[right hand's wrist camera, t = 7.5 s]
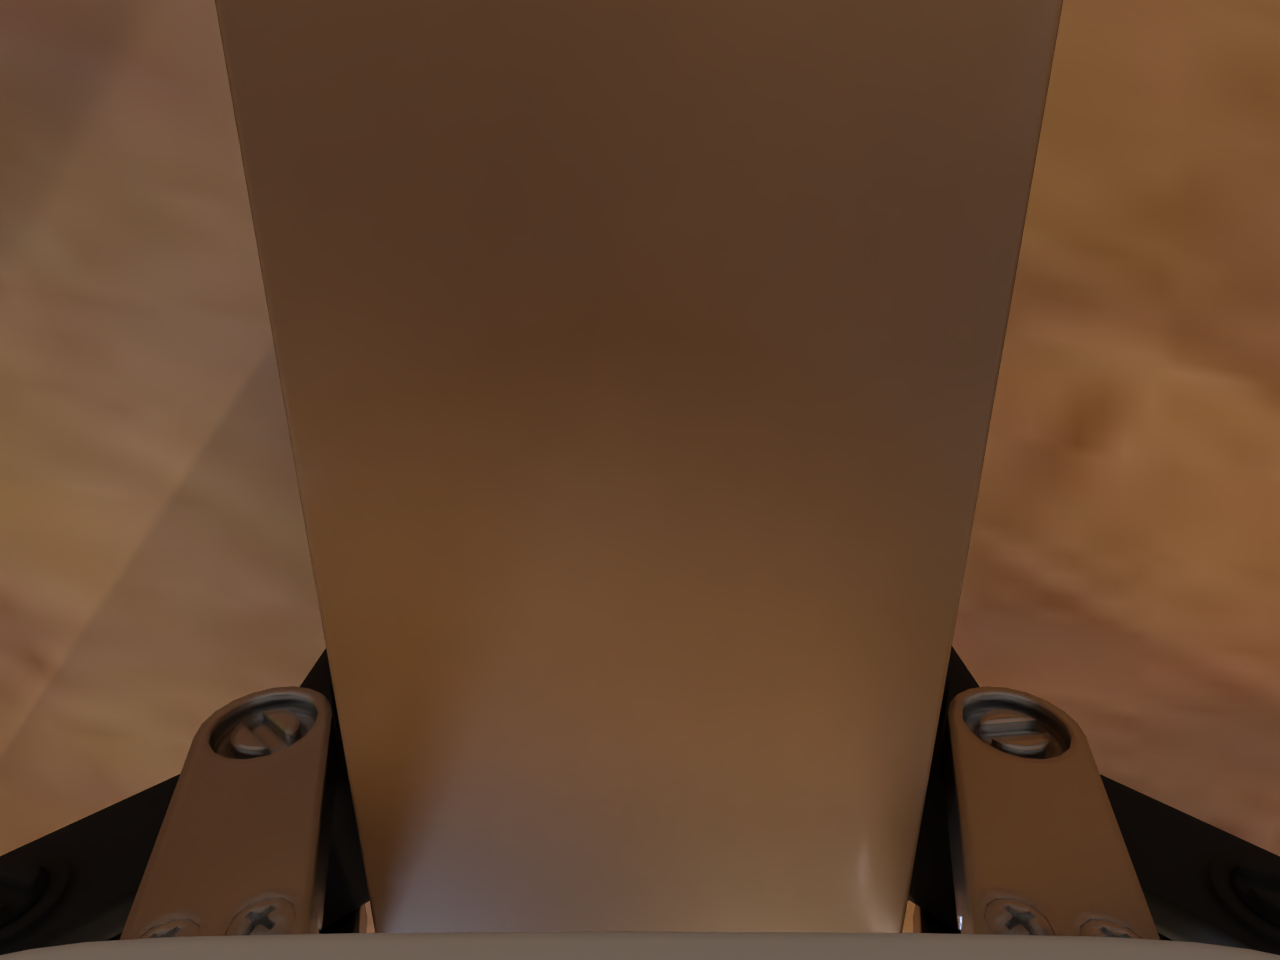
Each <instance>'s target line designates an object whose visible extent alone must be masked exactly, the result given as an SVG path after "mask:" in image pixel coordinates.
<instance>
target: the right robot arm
mask: <svg viewBox="0 0 1280 960" xmlns="http://www.w3.org/2000/svg"><path fill="white" fill-rule="evenodd" d="M369 900H370V898H369V893H368V887H367V881H366V875H365V869H364V864H363V858H362V852H361V846H360V840H359V835H358V829H357V823H356V817H355V811H354V806H353V800H352V794H351V788H350V782H349V777H348V771H347V765H346V759H345V753H344V747H343V742H342V736H341V730H340V724H339V718H338V713H337V707H336V701H335V695H334V689H333V684H332V678H331V672H330V666H329V660H328V655H327V649H325V650H324V652H323V653H322V655H321V656H320V658H319V659H318V661H317V662H316V664H315V665H314V667H313V668H312V670H311V671H310V673H309V674H308V675H307V677H306V678H305V680H304V681H303V683H302V684H301V686H300V687H293V686H292V687H279V688H271V689H267V690H263V691H258V692H254V693H251V694H249V695H246V696H244V697H241V698H239V699H236V700H234V701H232V702H230V703H229V704H227V705H225V706H224V707H222V708H220V709H219V710H217V711H216V712H214V713H213V714H212V715H211V716H210V717H209V718H208V719H207V720H206V721H205V722H203V723H202V725H201V726H200V728H199V730H198V731H197V733H196V734H195V736H194V738H193V741H192V744H191V747H190V749H189V752H188V755H187V758H186V760H185V763H184V766H183V768H182V771H181V774H179V775H177V776H175V777H173V778H170V779H168V780H166V781H164V782H162V783H160V784H157V785H155V786H153V787H151V788H149V789H146V790H144V791H142V792H140V793H138V794H136V795H133V796H131V797H129V798H127V799H125V800H122V801H120V802H118V803H116V804H114V805H111V806H109V807H107V808H105V809H103V810H101V811H98V812H96V813H94V814H92V815H90V816H87V817H85V818H83V819H81V820H79V821H77V822H74V823H72V824H70V825H68V826H66V827H63V828H61V829H59V830H57V831H55V832H53V833H50V834H48V835H46V836H44V837H42V838H39V839H37V840H35V841H33V842H31V843H29V844H26V845H24V846H22V847H20V848H18V849H15V850H13V851H11V852H9V853H7V854H5V855H2V856H0V960H1280V857H1279V856H1277V855H1275V854H1273V853H1271V852H1268V851H1266V850H1264V849H1262V848H1260V847H1258V846H1255V845H1253V844H1251V843H1249V842H1247V841H1244V840H1242V839H1240V838H1238V837H1236V836H1234V835H1231V834H1229V833H1227V832H1225V831H1223V830H1220V829H1218V828H1216V827H1214V826H1212V825H1210V824H1207V823H1205V822H1203V821H1201V820H1199V819H1196V818H1194V817H1192V816H1190V815H1188V814H1185V813H1183V812H1181V811H1179V810H1177V809H1175V808H1172V807H1170V806H1168V805H1166V804H1164V803H1161V802H1159V801H1157V800H1155V799H1153V798H1151V797H1148V796H1146V795H1144V794H1142V793H1140V792H1137V791H1135V790H1133V789H1131V788H1129V787H1126V786H1124V785H1122V784H1120V783H1118V782H1116V781H1113V780H1111V779H1109V778H1107V777H1105V776H1102V775H1100V774H1099V771H1098V768H1097V766H1096V763H1095V760H1094V758H1093V755H1092V752H1091V749H1090V747H1089V744H1088V741H1087V738H1086V736H1085V734H1084V733H1083V731H1082V730H1081V728H1080V726H1079V725H1078V723H1077V722H1075V721H1074V720H1073V719H1072V718H1071V717H1070V716H1069V715H1068V714H1067V713H1066V712H1064V711H1063V710H1061V709H1060V708H1058V707H1056V706H1055V705H1053V704H1051V703H1050V702H1048V701H1046V700H1044V699H1041V698H1039V697H1036V696H1034V695H1031V694H1029V693H1026V692H1022V691H1017V690H1013V689H1009V688H1001V687H988V686H987V687H979V685H978V684H977V682H976V681H975V679H974V678H973V677H972V675H971V674H970V672H969V671H968V669H967V668H966V666H965V665H964V663H963V662H962V660H961V659H960V657H959V656H958V654H957V653H956V651H955V650H954V648H953V647H952V646H951V652H950V658H949V663H948V669H947V675H946V681H945V686H944V692H943V698H942V704H941V710H940V715H939V721H938V727H937V733H936V739H935V744H934V750H933V756H932V762H931V767H930V773H929V779H928V785H927V791H926V796H925V802H924V808H923V814H922V820H921V825H920V831H919V837H918V843H917V848H916V854H915V860H914V866H913V872H912V877H911V883H910V889H909V895H908V900H910V901H911V902H913V903H914V904H915V909H914V915H913V929H914V933H826V932H454V933H366V929H367V915H366V909H365V903H366V902H368V901H369Z"/></svg>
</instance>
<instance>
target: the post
mask: <svg viewBox="0 0 1280 960" xmlns="http://www.w3.org/2000/svg"><path fill="white" fill-rule="evenodd" d="M215 4H216V10H217V16H218V21H219V27H220V33H221V39H222V45H223V50H224V56H225V62H226V68H227V74H228V79H229V85H230V91H231V97H232V103H233V108H234V114H235V120H236V126H237V132H238V138H239V143H240V149H241V155H242V161H243V167H244V172H245V178H246V184H247V190H248V196H249V201H250V207H251V213H252V219H253V225H254V230H255V236H256V242H257V248H258V254H259V260H260V265H261V271H262V277H263V283H264V289H265V294H266V300H267V306H268V312H269V318H270V323H271V329H272V335H273V341H274V347H275V352H276V358H277V364H278V370H279V376H280V381H281V387H282V393H283V399H284V405H285V411H286V416H287V422H288V428H289V434H290V440H291V445H292V451H293V457H294V463H295V469H296V474H297V480H298V486H299V492H300V498H301V503H302V509H303V515H304V521H305V527H306V533H307V538H308V544H309V550H310V556H311V562H312V567H313V573H314V579H315V585H316V591H317V596H318V602H319V608H320V614H321V620H322V625H323V631H324V637H325V643H326V649H327V655H328V660H329V666H330V672H331V678H332V684H333V689H334V695H335V701H336V707H337V713H338V718H339V724H340V730H341V736H342V742H343V747H344V753H345V759H346V765H347V771H348V777H349V782H350V788H351V794H352V800H353V806H354V811H355V817H356V823H357V829H358V835H359V840H360V846H361V852H362V858H363V864H364V869H365V875H366V881H367V887H368V893H369V898H370V904H371V910H372V916H373V922H374V928H375V933H454V932H826V933H902V929H903V924H904V918H905V912H906V906H907V901H908V895H909V889H910V883H911V877H912V872H913V866H914V860H915V854H916V848H917V843H918V837H919V831H920V825H921V820H922V814H923V808H924V802H925V796H926V791H927V785H928V779H929V773H930V767H931V762H932V756H933V750H934V744H935V739H936V733H937V727H938V721H939V715H940V710H941V704H942V698H943V692H944V686H945V681H946V675H947V669H948V663H949V658H950V652H951V646H952V640H953V634H954V629H955V623H956V617H957V611H958V605H959V600H960V594H961V588H962V582H963V576H964V571H965V565H966V559H967V553H968V548H969V542H970V536H971V530H972V524H973V519H974V513H975V507H976V501H977V495H978V490H979V484H980V478H981V472H982V467H983V461H984V455H985V449H986V443H987V438H988V432H989V426H990V420H991V414H992V409H993V403H994V397H995V391H996V386H997V380H998V374H999V368H1000V362H1001V357H1002V351H1003V345H1004V339H1005V333H1006V328H1007V322H1008V316H1009V310H1010V305H1011V299H1012V293H1013V287H1014V281H1015V276H1016V270H1017V264H1018V258H1019V252H1020V247H1021V241H1022V235H1023V229H1024V224H1025V218H1026V212H1027V206H1028V200H1029V195H1030V189H1031V183H1032V177H1033V171H1034V166H1035V160H1036V154H1037V148H1038V143H1039V137H1040V131H1041V125H1042V119H1043V114H1044V108H1045V102H1046V96H1047V90H1048V85H1049V79H1050V73H1051V67H1052V62H1053V56H1054V50H1055V44H1056V38H1057V33H1058V27H1059V21H1060V15H1061V9H1062V4H1063V0H215Z"/></svg>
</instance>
